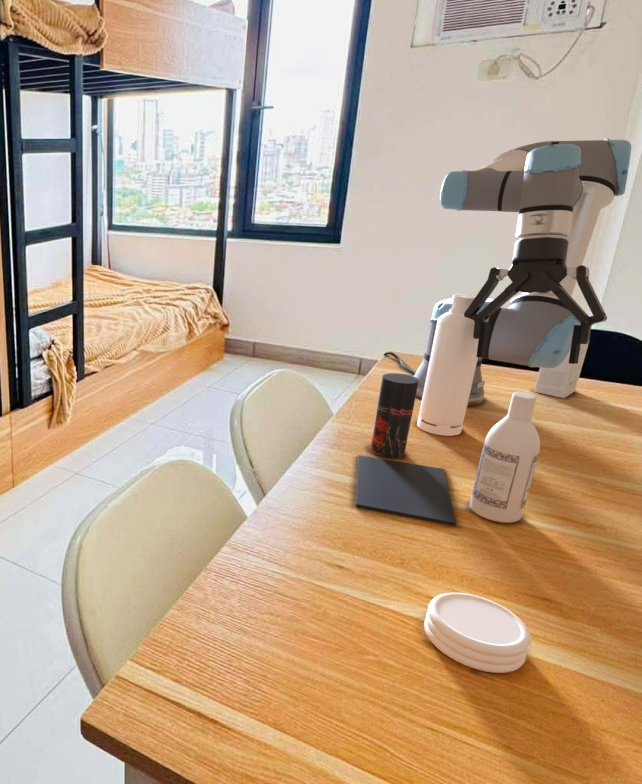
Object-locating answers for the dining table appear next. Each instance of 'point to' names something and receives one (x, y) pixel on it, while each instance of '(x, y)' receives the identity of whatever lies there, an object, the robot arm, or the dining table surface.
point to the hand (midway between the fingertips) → (524, 360)
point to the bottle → (450, 371)
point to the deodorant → (393, 415)
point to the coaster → (477, 632)
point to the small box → (561, 376)
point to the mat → (404, 489)
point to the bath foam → (507, 463)
